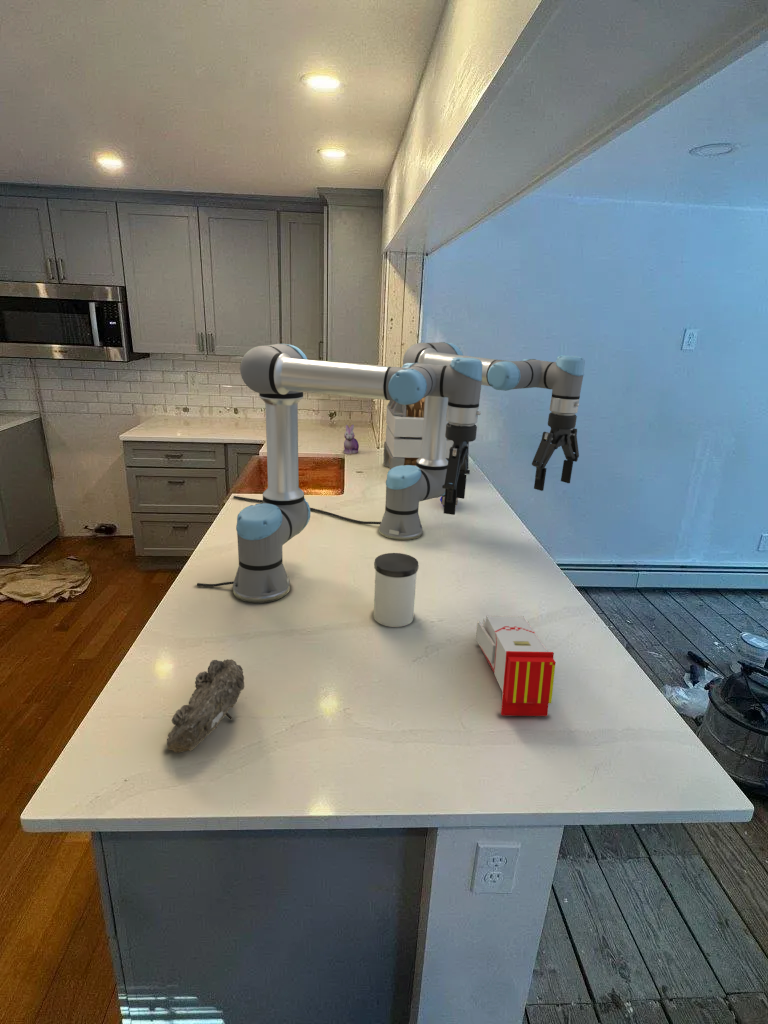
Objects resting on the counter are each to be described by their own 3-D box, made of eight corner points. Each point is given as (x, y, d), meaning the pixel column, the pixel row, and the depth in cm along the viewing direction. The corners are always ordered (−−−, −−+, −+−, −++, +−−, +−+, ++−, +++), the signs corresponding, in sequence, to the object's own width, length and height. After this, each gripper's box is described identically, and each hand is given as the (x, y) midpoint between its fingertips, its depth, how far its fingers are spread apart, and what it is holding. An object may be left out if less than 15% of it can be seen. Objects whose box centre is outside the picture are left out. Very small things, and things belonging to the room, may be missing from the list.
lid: (400, 555, 149) (400, 549, 148) (427, 571, 140) (427, 565, 140) (365, 564, 143) (365, 558, 142) (391, 581, 134) (392, 575, 134)
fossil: (192, 660, 117) (244, 628, 112) (224, 691, 120) (276, 661, 115) (142, 746, 98) (202, 712, 93) (182, 779, 101) (242, 748, 96)
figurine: (346, 455, 302) (347, 427, 297) (339, 450, 310) (339, 423, 305) (362, 453, 306) (363, 426, 301) (354, 449, 314) (355, 422, 309)
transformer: (382, 463, 289) (386, 382, 275) (445, 464, 293) (451, 384, 279) (390, 482, 257) (394, 392, 243) (460, 483, 261) (468, 394, 247)
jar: (397, 603, 153) (400, 551, 148) (421, 619, 145) (425, 566, 140) (365, 613, 147) (367, 560, 142) (389, 631, 139) (392, 576, 134)
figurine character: (457, 514, 225) (453, 498, 239) (459, 497, 222) (455, 481, 236) (441, 513, 225) (437, 497, 239) (442, 496, 222) (439, 481, 235)
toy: (522, 601, 137) (564, 658, 107) (517, 652, 139) (557, 722, 110) (472, 600, 136) (500, 657, 107) (468, 651, 139) (495, 721, 110)
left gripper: (468, 434, 126) (460, 523, 133) (484, 416, 149) (476, 493, 156) (435, 431, 128) (429, 518, 135) (456, 414, 151) (449, 490, 158)
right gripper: (548, 419, 148) (537, 496, 155) (598, 411, 163) (586, 482, 171) (525, 414, 153) (515, 489, 160) (575, 407, 169) (564, 476, 176)
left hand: (454, 505), depth 146 cm, fingers open, 13 cm apart
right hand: (552, 485), depth 166 cm, fingers open, 13 cm apart
